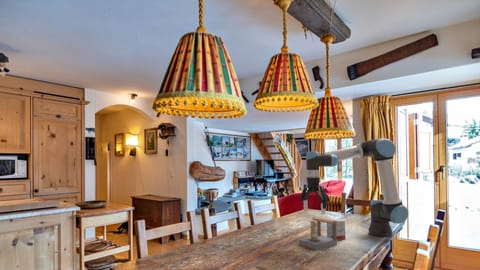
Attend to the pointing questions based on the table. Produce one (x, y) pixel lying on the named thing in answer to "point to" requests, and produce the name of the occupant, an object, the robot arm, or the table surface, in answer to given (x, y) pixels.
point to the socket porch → (322, 240)
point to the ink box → (337, 229)
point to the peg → (314, 231)
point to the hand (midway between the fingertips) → (314, 212)
